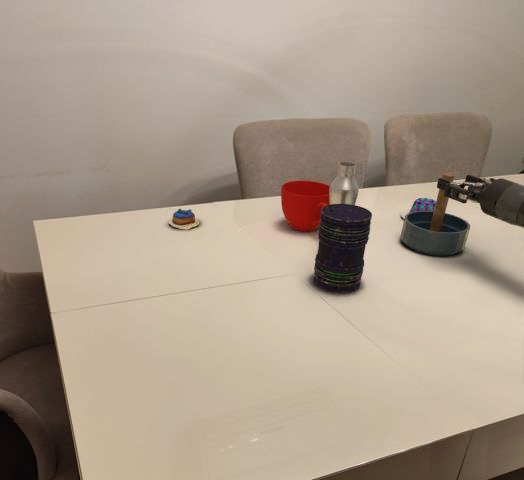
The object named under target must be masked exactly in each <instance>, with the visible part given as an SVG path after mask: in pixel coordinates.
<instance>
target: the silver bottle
mask: <svg viewBox="0 0 524 480" xmlns="http://www.w3.org/2000/svg"><path fill="white" fill-rule="evenodd" d="M337 167H338V168H337V170H336V171H337V176H336V177H335V178H334V179H333V180H332V182H331V183H330V185H329V186H330V188H329V205H331V204H350V205H356V203H357V200H358V196H359V192H360V191H359V189H360V188H359V185H358V182H357V180H356V178H355V175H356V168H357V165H356V164H355V163H354V162H349V161H348V162H347V161H341V162H339V163H338V166H337Z"/></svg>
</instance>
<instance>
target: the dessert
mask: <svg viewBox="0 0 524 480" xmlns="http://www.w3.org/2000/svg"><path fill="white" fill-rule="evenodd" d="M168 223H169V225H170V226H171V227H174V228H175V229H180V230H189V229H192V228H195V227H197V226H199V224H200V221H199V220H198V218H196V215H195V213H194V212H193V211H192V209H186V210H185V209H181V208H178V209H177V210H175V211H174V212H173V214H172V218H170V219H169V220H168Z"/></svg>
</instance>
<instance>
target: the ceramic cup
mask: <svg viewBox="0 0 524 480" xmlns="http://www.w3.org/2000/svg"><path fill="white" fill-rule="evenodd" d="M329 188H330V185H329V184H326V183H323V182H320V181H315V180H314V181H312V180H291V181H287V182H284V183H283V184H282V185H281V187H280V203H281V209H282V213H283V216H284V218H285V220H286V221H287V223H288V225H289V226H290V227H291V228H292V229H293V230H295V231H298V232H312V231H315V230H317V228H319V223H320V219H321V210H322V208H323V207H324V206H327V205H329Z"/></svg>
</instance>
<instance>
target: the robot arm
mask: <svg viewBox="0 0 524 480" xmlns="http://www.w3.org/2000/svg"><path fill="white" fill-rule="evenodd" d="M465 187H467V188H465ZM436 188H437V189H438V190H439V189H441V190H443V191H444V194H443V196H445V197H448V198H449V199H451V200H453V201H456V202H459V203H461V204H467V203H468V201H470V202H471V203H473V204H475V203H476V204H479V206H480V210H481V212H482V213H483V214H485V215H487V216H490V217H491V218H494V219H497V220H499V221H501V222H503V223H505V224H506V223H507V224H509V225H511V226H516V227H520V228H522V229H524V184H520V183H518V182H515V181H512V180H509V179H506V178H501V177H500V178H494V177H490V178H489V179H487V178H486V177H478V176H475V175H474V174H473V175H472V174H467V175H466V176H465V180H464V181H462V182H455V181H453V182H452V181H449V180H447V179H444V178H442V177H439V178H438V179H437V184H436Z"/></svg>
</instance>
